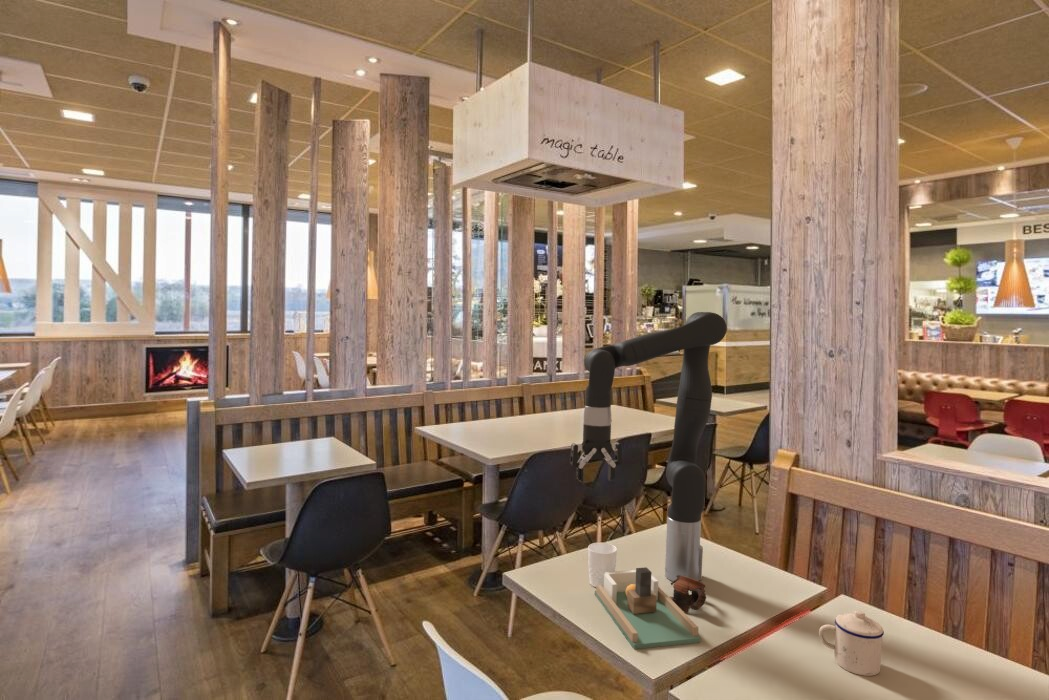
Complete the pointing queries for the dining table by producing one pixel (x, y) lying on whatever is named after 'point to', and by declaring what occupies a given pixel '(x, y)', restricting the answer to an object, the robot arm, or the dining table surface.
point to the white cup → (600, 562)
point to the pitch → (645, 614)
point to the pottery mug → (682, 593)
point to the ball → (630, 588)
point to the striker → (642, 593)
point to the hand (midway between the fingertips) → (595, 480)
